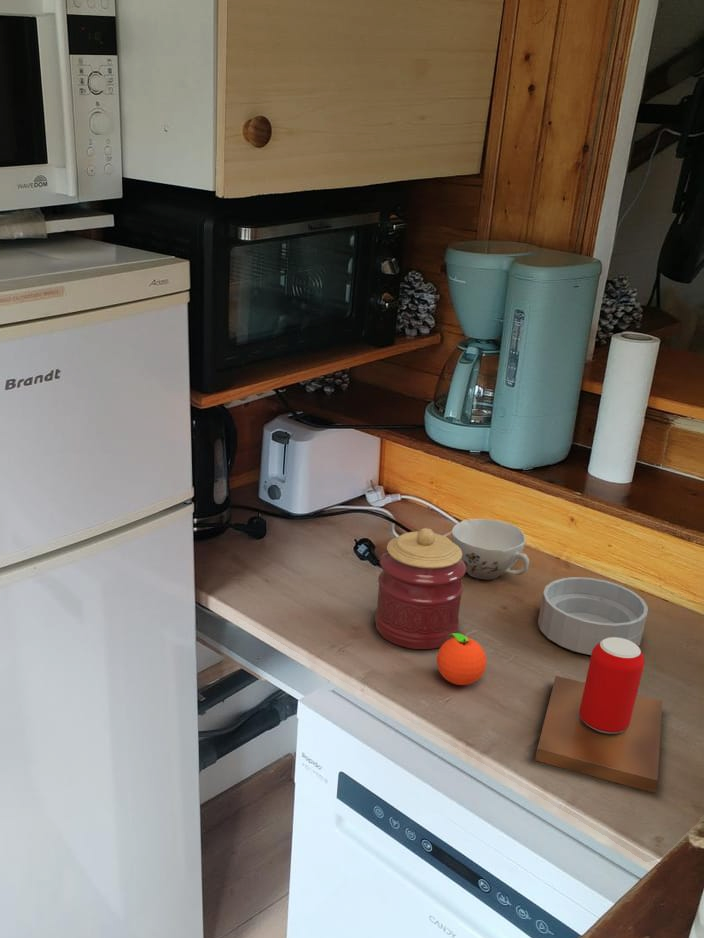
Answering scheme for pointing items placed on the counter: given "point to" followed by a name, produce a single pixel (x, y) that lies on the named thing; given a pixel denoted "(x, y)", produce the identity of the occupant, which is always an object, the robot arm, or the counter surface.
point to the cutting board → (601, 740)
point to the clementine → (461, 660)
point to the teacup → (490, 547)
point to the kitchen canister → (419, 590)
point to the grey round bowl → (590, 613)
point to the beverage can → (611, 685)
